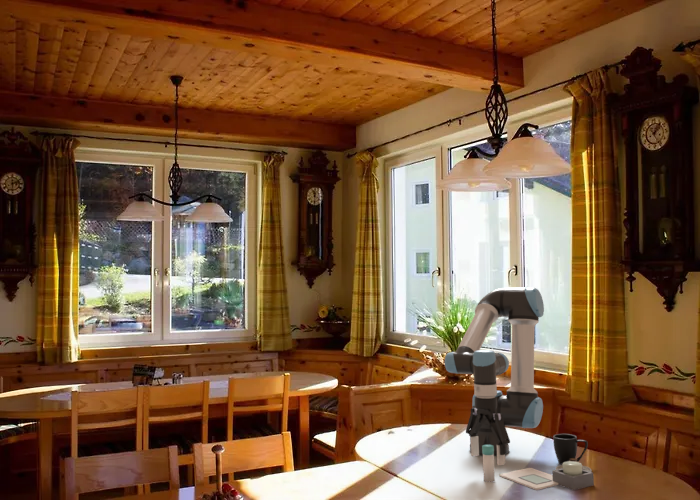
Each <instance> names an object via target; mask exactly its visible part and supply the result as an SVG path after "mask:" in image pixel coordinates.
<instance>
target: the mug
mask: <svg viewBox="0 0 700 500" xmlns="http://www.w3.org/2000/svg"><path fill="white" fill-rule="evenodd" d="M552 439H553V450H554V453H555V456H556V458H557V459H556V460H557V463H558V464H560V465H563V462H568V461H569V459H571V458H576V459H577V462H578V461H579V462H580V461H581V459H582V457H583V455H584V454H585V453H586V451H587V449H588V446H589V445H588V444H589V443H588V441H587V440H585V439H578V437H577V435H575V434H570V433H558V434H553V436H552ZM579 442H583V443H584V445H585V446H584V449H583V451H582V452H581V454H580V456H578V457H577V453H578V443H579Z"/></svg>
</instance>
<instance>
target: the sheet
mask: <svg viewBox="0 0 700 500" xmlns="http://www.w3.org/2000/svg"><path fill="white" fill-rule="evenodd" d="M498 476H499V477H501V478H504V479H506V480H508V481H509V480H510V481H512V482H514V483H516V484H519V485H522V486H525V487H526V488H530V489H534V490H535V491H538V490H542V489H547V488H552V487H555V486H559V485H558V483H557V482H554V481H553V475H552V474H550V473H547V472H544V471H541V470H538V469H535V468H533V467H526V468H521V469H517V470H512V471H508V472H503V473H499V474H498Z"/></svg>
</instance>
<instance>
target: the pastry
mask: <svg viewBox="0 0 700 500" xmlns="http://www.w3.org/2000/svg"><path fill="white" fill-rule="evenodd" d="M569 461H573V462H577V457H576V458H571V459H569ZM578 462H579V463H581V462H580V460H579V461H578ZM562 468H563V464H560V465H559V464H558V465H557V466H556V467H555V470H557V469H562ZM582 469H583V470H586V471H589V472H592V469H591V467H589V466H586V465H582Z"/></svg>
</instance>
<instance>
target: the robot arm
mask: <svg viewBox="0 0 700 500" xmlns="http://www.w3.org/2000/svg"><path fill="white" fill-rule="evenodd" d="M544 312H545V305H544V301H543V296H542V294H541V292H540V290H539V289H538V288H535V287H527V286H526V287H525V286H524V287H501V288H496V289H494V290H492V291H490V292H488V293H487V294H486V295H484V296H483V297H482V298H481V299H480V300H479V301H478V303H477V304H476V307H475V309H474V316H473V317H472V320H471V322H470V324H469V325H468V328H466V332H465V334H464V335H463V337H462V339H461V341H460V343H459V345H458V347H457V348H456V350H455V351H451V352H447V353H446V354H445V357H444V367H445V370H446V371H447V372H448V373H451V374H461V375H462V374H463V375H464V374H465V375H466V374H467V375H473V389H474V394H473V396H472V407H471V409H470V416H469V417H468V422H467V426H466V427H465V434H468V436H469V440H470V441H469V443H470V444H469V451H470V452H471V453H470V455H471V457H476V456H477V457H478V456H483V454H482V446H483V445H493V446H494V457H496V461H497V463H496V465H497V466H502V465H506V455H507V454H509V453H510V446H509V445H510V443H511V440H510V437H509V433H508V431H507V427H514V428H522V429H534V428H537V427H538V426H539V424H540V422H541V420H542V416H543V413H544V411H543V410H544V403H543V399H542V398H541V397H539V396H538V395H539V393H538V391H537V390H536V389H535V385H534V382H535V380H534V379H535V378H534V377H535V327H536V325H537V324H538V323H539V321H540V320H539V318H542V317H543V316H544V315H545V314H544ZM503 317H504V318H507V319H508V320H507V321H508V323H510V325H511V356H510V357H511V361H510V362H511V364H510V362H509V359H508V357H507V355H505V354H504V353H501V352H495V351H494V350H492V349H481V348H482V346H483V343H484V342H485V340H486V338H487V336H488V334H489V332H490V329H491V327H492V326H493V324H494V323H495V322H497V320H499V318H503ZM510 365H511V366H510ZM510 367H511V368H510ZM509 368H510V387H509V388H508V389H506V395H505V394H503V392H502V390H500V389H499V390H497V389H498V388H497V376H501V375H502V374H504V373H506V372H507V371H508V370H509Z"/></svg>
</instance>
